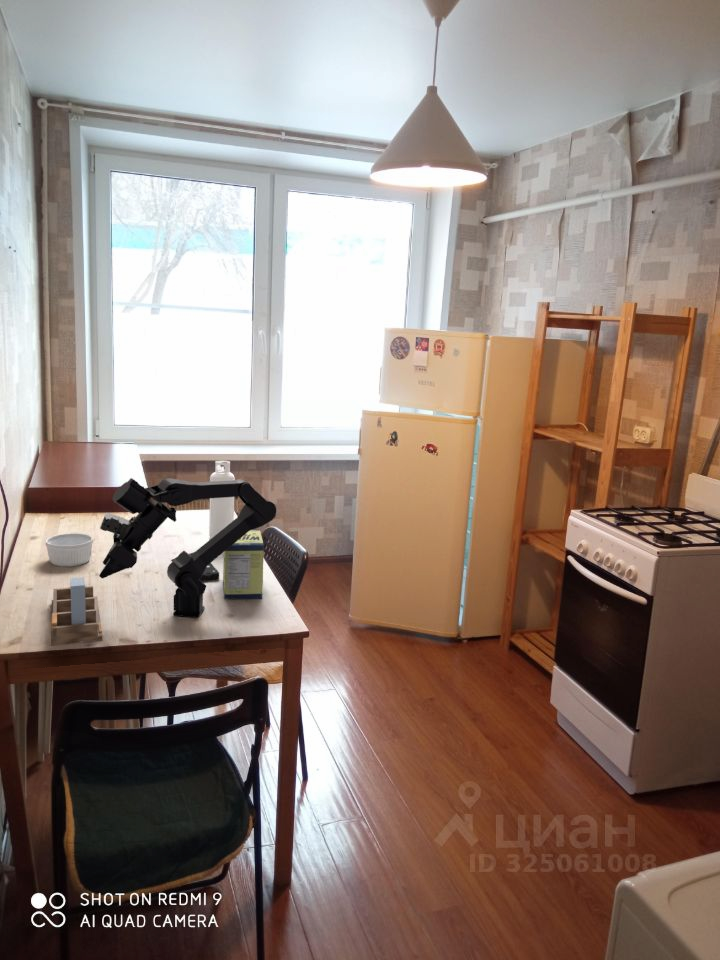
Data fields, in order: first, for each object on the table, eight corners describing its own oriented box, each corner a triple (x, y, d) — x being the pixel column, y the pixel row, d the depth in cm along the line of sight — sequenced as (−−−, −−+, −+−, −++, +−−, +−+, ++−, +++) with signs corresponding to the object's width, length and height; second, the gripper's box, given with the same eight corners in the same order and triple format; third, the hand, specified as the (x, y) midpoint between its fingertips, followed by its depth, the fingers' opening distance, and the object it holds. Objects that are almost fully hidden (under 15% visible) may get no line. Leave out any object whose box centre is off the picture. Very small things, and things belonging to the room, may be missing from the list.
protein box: (258, 579, 209) (260, 528, 206) (262, 599, 194) (264, 544, 191) (222, 580, 207) (223, 528, 203) (224, 600, 192) (225, 545, 189)
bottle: (236, 540, 244) (238, 460, 239) (228, 547, 237) (230, 465, 231) (214, 538, 246) (215, 458, 240) (205, 544, 238) (206, 462, 232)
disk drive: (220, 581, 207) (206, 565, 220) (220, 572, 206) (206, 556, 219) (184, 585, 202) (172, 568, 215) (184, 576, 201) (172, 559, 214)
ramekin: (41, 568, 207) (41, 545, 206) (51, 554, 220) (50, 532, 218) (89, 568, 210) (89, 545, 208) (96, 554, 222) (96, 532, 221)
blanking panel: (85, 624, 169) (84, 577, 166) (86, 634, 164) (85, 585, 162) (71, 626, 168) (70, 578, 165) (72, 635, 163) (70, 586, 160)
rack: (97, 599, 187) (96, 583, 186) (102, 639, 164) (102, 621, 163) (51, 603, 182) (51, 586, 181) (50, 645, 160) (50, 626, 159)
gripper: (122, 492, 178) (79, 538, 178) (116, 512, 160) (69, 563, 160) (157, 520, 182) (115, 565, 181) (155, 542, 164) (109, 592, 164)
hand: (102, 570), depth 172 cm, fingers open, 9 cm apart
